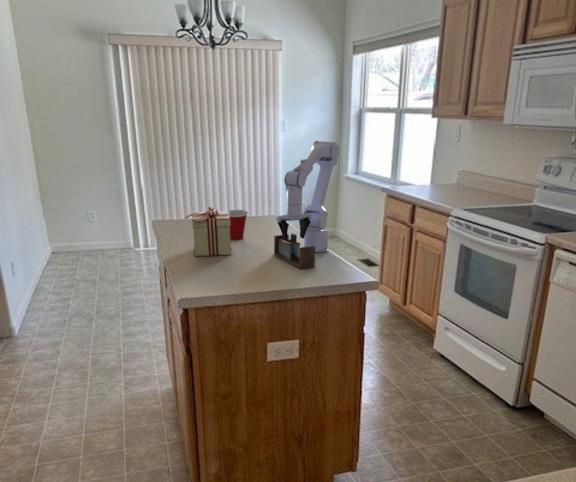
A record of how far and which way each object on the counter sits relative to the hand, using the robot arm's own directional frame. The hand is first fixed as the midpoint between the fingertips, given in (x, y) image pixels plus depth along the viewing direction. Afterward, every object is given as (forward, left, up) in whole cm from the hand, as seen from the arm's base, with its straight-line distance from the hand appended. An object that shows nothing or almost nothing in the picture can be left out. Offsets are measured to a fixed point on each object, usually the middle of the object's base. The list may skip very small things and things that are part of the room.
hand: (293, 238), depth 207 cm
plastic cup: (+8, -40, -8) cm, 41 cm away
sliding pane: (0, 0, -7) cm, 7 cm away
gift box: (+27, -23, -8) cm, 36 cm away
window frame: (+2, +3, -8) cm, 9 cm away
